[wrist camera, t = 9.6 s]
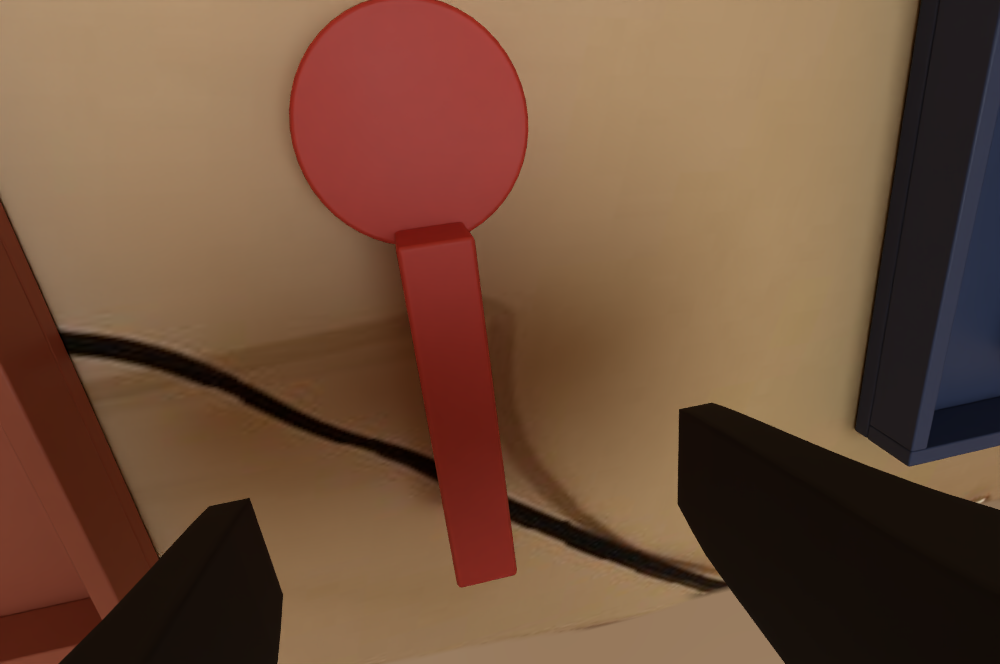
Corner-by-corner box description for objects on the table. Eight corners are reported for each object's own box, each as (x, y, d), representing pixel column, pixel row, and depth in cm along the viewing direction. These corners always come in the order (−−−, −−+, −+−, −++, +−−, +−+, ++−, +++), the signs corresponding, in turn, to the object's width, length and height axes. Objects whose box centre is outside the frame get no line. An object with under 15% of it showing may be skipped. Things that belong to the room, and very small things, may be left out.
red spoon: (546, 483, 16) (580, 560, 14) (389, 517, 16) (392, 606, 13) (500, -3, 12) (538, -35, 9) (274, 19, 11) (240, -8, 8)
